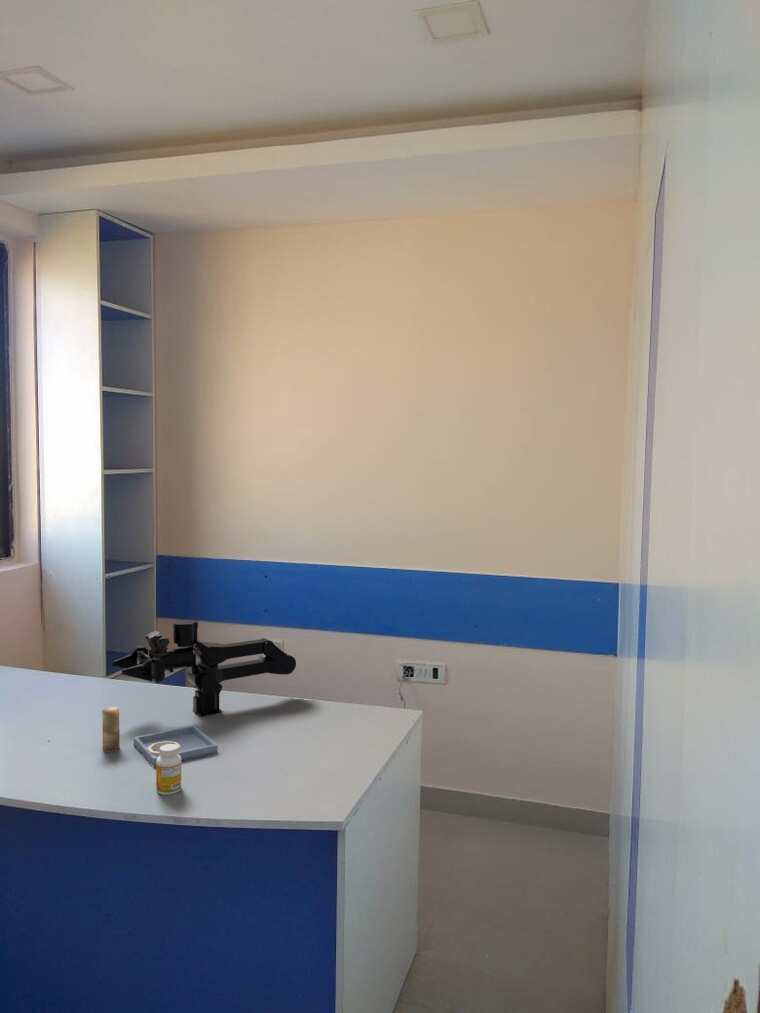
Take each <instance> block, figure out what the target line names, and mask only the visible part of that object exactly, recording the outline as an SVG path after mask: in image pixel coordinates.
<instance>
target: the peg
mask: <svg viewBox="0 0 760 1013" xmlns="http://www.w3.org/2000/svg"><path fill="white" fill-rule="evenodd" d="M101 716H102V717H101V719H102V721H101V722H102V724H101V725H102V729H101V730H102V751H103V750H104V751H103V752H105V751H109V752H108V753H111V752H110V751H113V752H116V751H115V750H117V751H119V750H120V748H121V747H120V744H121V742H120V708H119V707H115V706H111V707H106V708H103V709H102V715H101ZM118 749H119V750H118Z"/></svg>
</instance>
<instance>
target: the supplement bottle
mask: <svg viewBox="0 0 760 1013" xmlns="http://www.w3.org/2000/svg"><path fill="white" fill-rule="evenodd" d="M159 752H160V756H159V757H158V758H157V760H156V766H155V769H156V771H155V777H156V778H155V779H156V780H155V781H156V782H155V784H156V786H155V787H156V788H155V789H156V790H155V791H156V792H157V793H158V794H160V795H164V796H168V795H169V796H170V795H174V794H177V793H179V792H180V791H181V790H182V787H183V786H182V782H183V781H182V779H183V778H182V774H183V773H182V761H181V756H180V755H178V746H177V745H175V744H166V745H163V746H161V747H160V750H159Z"/></svg>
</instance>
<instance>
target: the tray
mask: <svg viewBox="0 0 760 1013" xmlns="http://www.w3.org/2000/svg"><path fill="white" fill-rule="evenodd" d="M166 744H175V745H177V746H178V755H180V756H181V760H183V761H186V760H185V759H187V760H191V759H190V758H192V759H195V757H196V758H200V756H201V757H204V756H203V755H205V756H209V755H208V754H210V755H213V754H218V752H219V751H218V744H217V743H216V742H215V741H214V740H212V739H211V738H210V737H209V736H207V734H205V733H204V732H203V731H201V729H199V728H198V727H197V726H196V725H189V726H184V727H180V728H175V729H169V730H164V731H159V732H154V733H149V734H144V735H138V736H135V737H133V746H134V745H135V746H136V747H137V748H138V749H137V748H136V747H135V746H134V747H135V748H136V749H137V750H138V751H139V752H140V753H141V755H142V754H143V755H144V756H145V757H146V758H145V757H144V756H143V757H144V758H145V759H146V760H147V761H148V762H149V764H150V765H151V764H152V765H153V766H155V767H156V760H157V758H158V757H159V756H160V752H159V750H160V747H161V746H163V745H166ZM152 765H151V766H152ZM153 766H152V767H153Z"/></svg>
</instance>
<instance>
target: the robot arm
mask: <svg viewBox="0 0 760 1013" xmlns="http://www.w3.org/2000/svg"><path fill="white" fill-rule="evenodd" d="M198 628H199V623H198V621H197V620H183V619H180V620H175V621H173V622H172V643H174V644H176V647H177V648H172V649H170V648H168V646H169V644H170V643H171V642H170V639H169V638H168V637H167V636H163V635H162V633H161V632H159V631H158V630H157V629H156V630H154V631H152V632H149V633H147V634H145V640H147V642H148V645H149V649H147V648H146V647H145V646H143V645H142V644H138V645H134V647H133V648H132V649H131V651H130V652H129V654H127V655H125V656H122V657H120V658H117V659H116V660H113V661H112V662H111V666H112V667H116V668H121V669H122V670H121V675H123V676H128V677H131V678H135V679H140V680H144V681H147V682H150V683H152V682H153V683H154V684H158V683H162V682H163V681H164V680H165V678H166V672H168V673H174V671H175V670H180V669H186V668H187V674H186V676H187V680H188V682H189V683H191V684H192V686H193V688H194V689H196V690H194V696H192V697H193V698H192V705H193V706H192V707H193V708H192V711H193V712H194V713H196V714H197V715H198V716H200V717H204V716H209V715H215V714H219V713H220V714H221V713H222V712H223V711H222V709H220V694H221V692H222V689H223V685H222V684H221V683H222V682H224V681H229V680H235V679H240V678H246V677H251V676H257V675H264V674H271V675H272V674H273V675H285V676H286V675H290V674H292V673H294V671H295V669H296V667H297V661H296V657H294V656H292V655H291V654H289V653H287V652H284V651H283V650H281V649H280V648H279V647H278V646H277V645H276V644H275V643H274V642H273V641H272V640H270V639H268V638H266V637H262V638H259V639H252V640H246V641H240V642H239V641H238V642H232V643H231V642H230V643H218V642H208V641H205V642H204V641H203V642H202V641H201V640H199V639H198ZM256 655H264V657H263V658H260V659H259V658H258V659H253V660H247V661H241V662H234V663H228V664H223V665H222V663H224V662H225V661H227V660H230V659H236V658H243V657H250V656H256ZM219 664H221V665H219Z"/></svg>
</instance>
